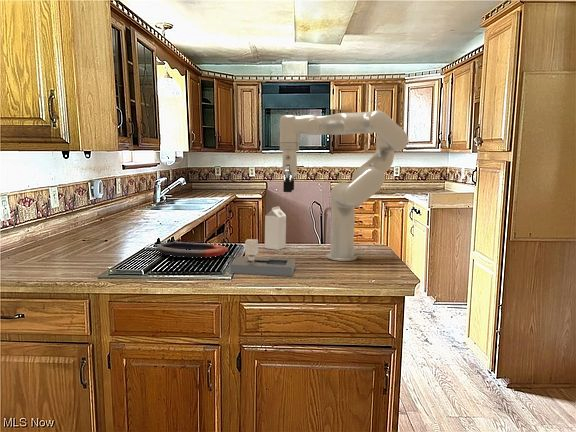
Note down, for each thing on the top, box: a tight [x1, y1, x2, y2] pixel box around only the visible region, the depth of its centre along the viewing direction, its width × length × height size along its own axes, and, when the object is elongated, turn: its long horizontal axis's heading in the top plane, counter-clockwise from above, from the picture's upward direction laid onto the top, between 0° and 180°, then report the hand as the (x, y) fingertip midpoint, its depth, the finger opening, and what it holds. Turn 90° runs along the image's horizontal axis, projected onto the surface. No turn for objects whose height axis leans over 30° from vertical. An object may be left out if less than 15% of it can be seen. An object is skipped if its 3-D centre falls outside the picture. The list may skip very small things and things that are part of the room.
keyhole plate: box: [229, 255, 296, 277], centre depth 159 cm, size 22×13×3 cm, turn 84°
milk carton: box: [264, 205, 287, 251], centre depth 196 cm, size 7×7×19 cm
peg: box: [244, 238, 259, 262], centre depth 159 cm, size 5×5×11 cm
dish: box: [156, 240, 229, 257], centre depth 179 cm, size 16×31×5 cm, turn 77°
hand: (288, 191), depth 171 cm, fingers open, 9 cm apart
